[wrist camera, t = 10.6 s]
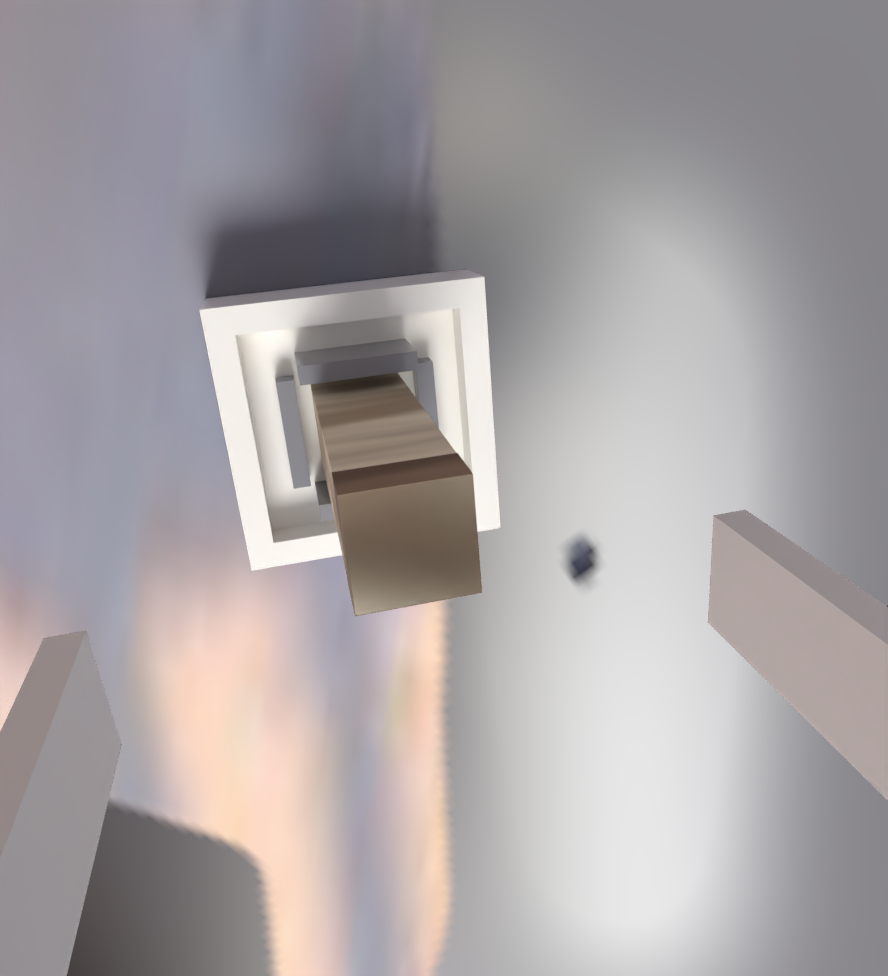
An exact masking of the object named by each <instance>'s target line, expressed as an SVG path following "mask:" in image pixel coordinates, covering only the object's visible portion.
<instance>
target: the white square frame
mask: <svg viewBox="0 0 888 976" xmlns="http://www.w3.org/2000/svg"><path fill="white" fill-rule="evenodd" d="M485 296H486V295H485V280H484V276H481V275H479V274H476V273H474V272H471V271H469V270H466V269H462V270H453V271H444V272H435V273H426V274H417V275H409V276H400V277H391V278H382V279H374V280H365V281H356V282H347V283H338V284H330V285H321V286H312V287H303V288H294V289H286V290H277V291H268V292H259V293H250V294H242V295H233V296H224V297H215V298H206V299H205V300H204V302H203V304H202V306H201V308H200V315H201V320H202V325H203V330H204V335H205V340H206V345H207V350H208V355H209V360H210V365H211V370H212V375H213V380H214V385H215V390H216V395H217V400H218V405H219V410H220V415H221V420H222V425H223V430H224V435H225V440H226V445H227V450H228V455H229V460H230V465H231V470H232V475H233V480H234V485H235V490H236V495H237V500H238V505H239V510H240V515H241V520H242V525H243V530H244V535H245V540H246V545H247V550H248V555H249V559H250V564H251V569H252V571H253V570H258V569H264V568H270V567H276V566H282V565H287V564H293V563H299V562H305V561H311V560H316V559H322V558H328V557H334V556H340V555H342V551H341V546H340V542H339V537H338V533H337V528H336V523H335V519H334V514H333V510H332V505H331V501H330V496H329V492H328V487H327V482H326V478H325V473H324V469H323V463H322V457H321V450H320V444H319V437H318V431H317V424H316V418H315V411H314V405H313V398H312V392H311V385H310V384H317V383H324V382H331V381H339V380H346V379H353V378H361V377H368V376H376V375H383V374H390V373H398V374H399V375H400V377H401V378H402V379H403V381H404V382H405V384H406V385H407V386H408V388H409V389H410V390H411V392H412V393H413V394H414V396H415V397H416V398H417V400H418V401H419V403H420V404H421V405H422V407H423V408H424V409H425V411H426V412H427V413H428V415H429V416H430V418H431V419H432V420H433V422H434V423H435V424H436V426H437V427H438V428H439V430H440V431H441V433H442V434H443V435H444V437H445V438H446V439H447V441H448V442H449V443H450V445H451V446H452V447H453V449H454V450H455V452H456V453H458V454H459V456H460V457H461V458H462V460H463V461H464V462H465V464H466V465H467V466H468V468H469V469H470V470H471V472H472V473H473V482H474V495H475V508H476V521H477V532H479V531H484V530H491V529H496V528H500V516H499V500H498V486H497V485H498V484H497V469H496V453H495V437H494V422H493V406H492V390H491V374H490V358H489V343H488V327H487V311H486V297H485Z"/></svg>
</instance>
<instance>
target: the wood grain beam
mask: <svg viewBox="0 0 888 976" xmlns="http://www.w3.org/2000/svg"><path fill="white" fill-rule="evenodd" d="M310 385H311V392H312V398H313V405H314V411H315V418H316V424H317V431H318V437H319V444H320V450H321V457H322V463H323V469H324V473H325V478H326V482H327V487H328V492H329V496H330V501H331V505H332V510H333V514H334V519H335V523H336V528H337V533H338V537H339V542H340V546H341V551H342V555H343V560H344V564H345V569H346V574H347V579H348V586H349V590H350V595H351V599H352V604H353V609H354V613H355V616H359V615H365V614H370V613H376V612H381V611H386V610H392V609H397V608H402V607H408V606H413V605H418V604H424V603H429V602H434V601H440V600H445V599H450V598H456V597H461V596H467V595H472V594H477V593H482V585H481V573H480V560H479V547H478V534H477V521H476V508H475V495H474V482H473V473H472V472H471V470H470V469H469V468H468V466H467V465H466V464H465V462H464V461H463V460H462V458H461V457H460V456H459V454H458V453H456V452H455V450H454V449H453V447H452V446H451V445H450V443H449V442H448V441H447V439H446V438H445V437H444V435H443V434H442V433H441V431H440V430H439V428H438V427H437V426H436V424H435V423H434V422H433V420H432V419H431V418H430V416H429V415H428V413H427V412H426V411H425V409H424V408H423V407H422V405H421V404H420V403H419V401H418V400H417V398H416V397H415V396H414V394H413V393H412V392H411V390H410V389H409V388H408V386H407V385H406V384H405V382H404V381H403V379H402V378H401V377H400V375H399V374H398V373H390V374H383V375H376V376H368V377H361V378H353V379H346V380H339V381H331V382H324V383H317V384H310Z"/></svg>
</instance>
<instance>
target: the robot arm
mask: <svg viewBox="0 0 888 976" xmlns="http://www.w3.org/2000/svg"><path fill="white" fill-rule="evenodd" d="M708 623H709V624H710V625H711V626H712V627H713V628H714V629H715V630H716V631H717V632H718V633H719V634H720V635H721V636H722V637H723V638H724V639H725V640H726V641H727V642H728V643H729V644H730V645H731V646H732V647H733V648H734V649H735V650H736V651H737V652H738V653H739V654H740V655H741V656H742V657H744V659H745V660H746V661H747V662H749V664H751V666H752V667H753V668H755V669H756V670H757V671H758V672H759V673H760V674H761V675H762V676H763V677H764V678H765V679H766V680H767V681H768V682H769V683H770V684H771V685H772V686H773V687H774V688H775V689H776V690H777V691H778V692H779V693H780V694H781V695H782V696H783V697H784V698H785V699H786V700H787V701H788V702H789V703H790V704H791V705H792V706H793V707H794V708H795V709H796V710H797V711H798V712H799V713H800V714H801V715H802V716H803V717H804V718H805V719H806V720H807V721H808V722H809V723H810V724H811V725H812V726H813V727H814V728H815V729H816V730H817V731H818V732H819V733H820V734H821V735H822V736H823V737H824V738H825V739H826V740H827V741H828V742H829V743H830V744H831V745H832V746H833V747H834V748H835V749H836V750H837V751H838V752H839V753H841V755H842V756H843V757H844V758H845V759H846V760H847V761H849V763H850V764H852V765H853V766H854V768H855V769H857V770H858V771H859V772H860V773H861V774H862V775H863V776H864V777H865V778H866V779H867V780H868V781H869V782H870V783H871V784H872V785H873V786H874V787H875V788H876V789H877V790H878V791H879V792H880V793H881V794H882V795H883V796H884V797H885V798H886V799H887V800H888V606H885V605H884V604H883V603H881V602H880V601H878V600H877V599H875V598H874V597H872V596H871V595H869V594H868V593H866V592H865V591H863V590H862V589H861V588H859V587H857V586H856V585H855V584H853V583H852V582H850V581H849V580H847V579H846V578H845V577H843V576H842V575H840V574H839V573H837V572H836V571H834V570H833V569H831V568H829V567H828V566H827V565H825V564H824V563H823V562H821V561H819V560H818V559H816V558H815V557H814V556H812V555H811V554H809V553H808V552H806V551H805V550H804V549H802V548H801V547H799V546H798V545H796V544H795V543H793V542H792V541H790V540H789V539H787V538H786V537H785V536H783V535H782V534H780V533H779V532H777V531H776V530H774V529H773V528H771V527H770V526H768V525H767V524H765V523H764V522H762V521H761V520H760V519H758V518H757V517H755V516H754V515H752V514H751V513H749V512H748V511H746V510H742V511H736V512H730V513H725V514H720V515H714V520H713V538H712V557H711V575H710V594H709V612H708ZM121 745H122V744H121V741H120V738H119V734H118V731H117V728H116V725H115V722H114V718H113V715H112V712H111V709H110V705H109V702H108V699H107V696H106V693H105V689H104V686H103V683H102V680H101V677H100V673H99V670H98V667H97V664H96V660H95V657H94V654H93V651H92V648H91V644H90V641H89V638H88V635H87V631H81V632H75V633H70V634H64V635H59V636H53V637H48V638H44V639H43V641H42V643H41V645H40V648H39V650H38V652H37V654H36V656H35V658H34V661H33V663H32V665H31V667H30V669H29V671H28V673H27V676H26V678H25V680H24V682H23V684H22V686H21V689H20V691H19V693H18V695H17V697H16V699H15V702H14V704H13V706H12V708H11V710H10V712H9V714H8V717H7V719H6V721H5V723H4V725H3V727H2V730H1V732H0V976H66V975H67V971H68V966H69V962H70V958H71V954H72V949H73V945H74V941H75V937H76V933H77V929H78V925H79V920H80V916H81V912H82V908H83V904H84V899H85V895H86V891H87V887H88V882H89V878H90V874H91V870H92V866H93V862H94V858H95V853H96V849H97V845H98V841H99V837H100V833H101V829H102V824H103V820H104V816H105V811H106V808H107V804H108V799H109V795H110V791H111V787H112V783H113V778H114V774H115V770H116V766H117V762H118V758H119V753H120V749H121Z"/></svg>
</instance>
